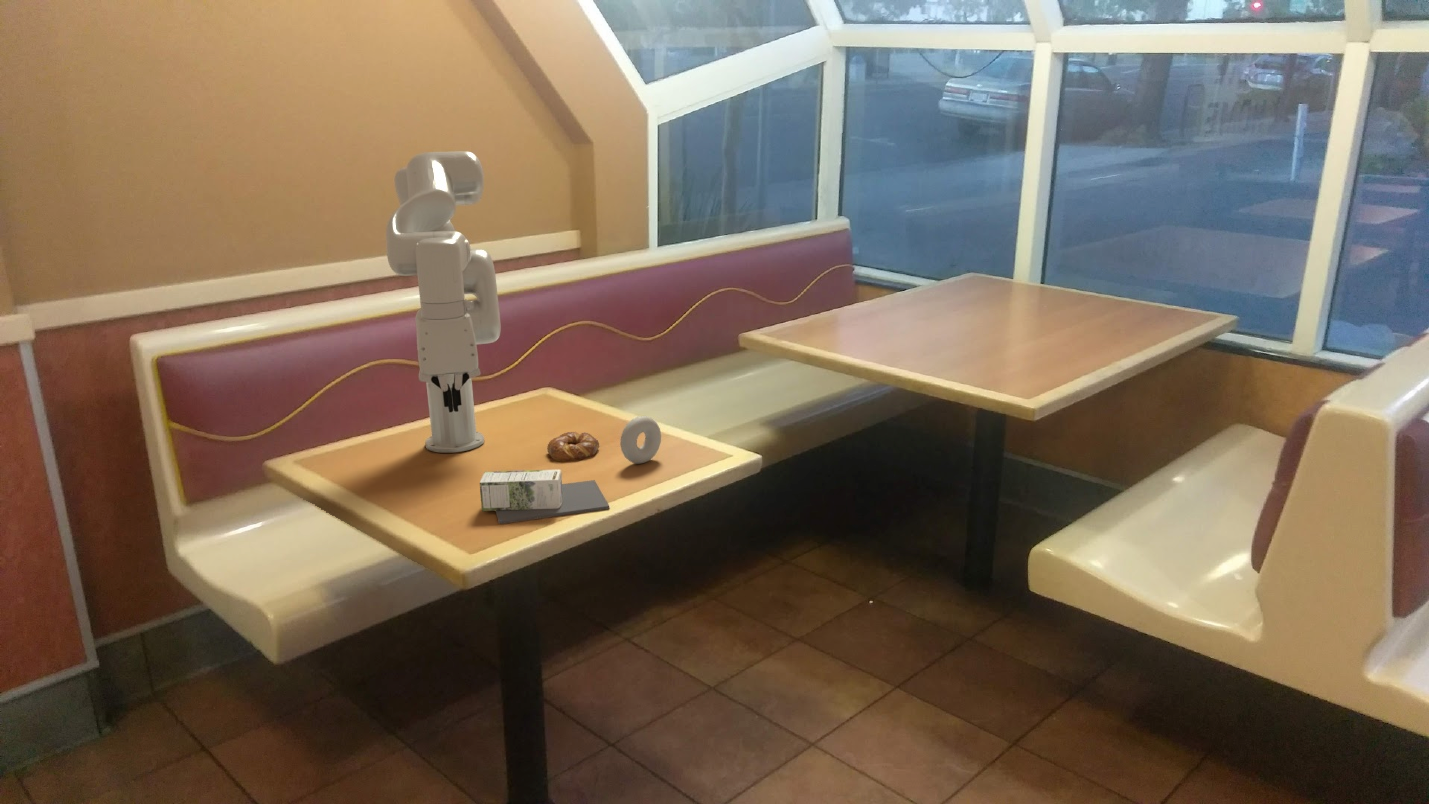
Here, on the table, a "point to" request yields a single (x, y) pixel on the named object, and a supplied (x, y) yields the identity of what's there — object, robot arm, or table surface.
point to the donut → (631, 436)
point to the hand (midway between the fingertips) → (453, 409)
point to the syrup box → (521, 490)
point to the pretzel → (572, 446)
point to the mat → (574, 501)
